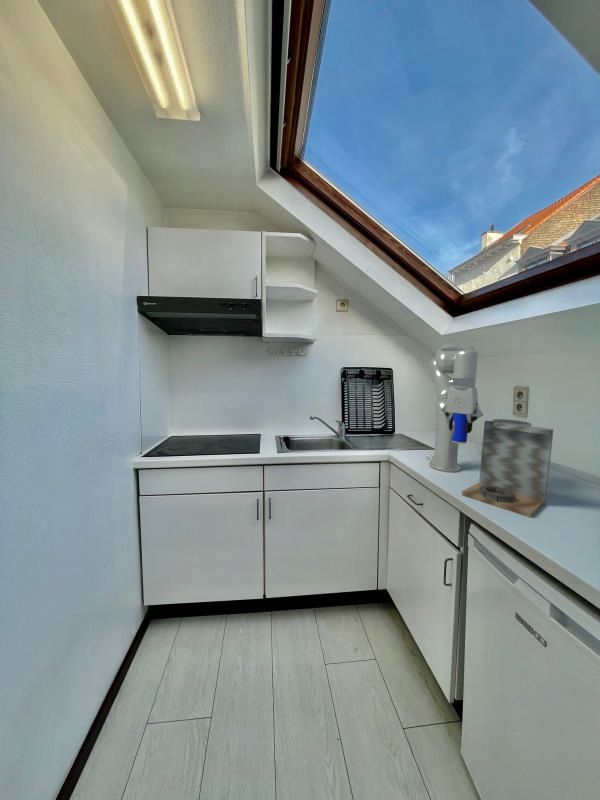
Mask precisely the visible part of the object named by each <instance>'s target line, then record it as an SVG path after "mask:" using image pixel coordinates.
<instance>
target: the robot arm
mask: <svg viewBox="0 0 600 800" xmlns="http://www.w3.org/2000/svg"><path fill="white" fill-rule="evenodd" d="M478 354H479V353H478V352H477V351H476V350H475V349H474V345H473V344H472V343H470V342H469V343H468V342H447V343H444V344H443V345H441V347H440V348H439V349H438V350H437V351H436V353H435V357H433V358H432V359H430V361H429V364H428V372H429V376H430V378H431V381H432V382H433V384H434V386H435V392H436V398H437V402H436V403H435V417H436V418H435V420H436V421H435V423H436V426H435V442H434V450H433V451H434V452H433V455H431V454H426V457H425V459H426V460H429V461H431V462H429V466H430V468H432V469H434V470H437V471H441V472H446V473H447V472H449V473H456V472H460V471H461V466H459V464H458V455H459V454H458V453H459V452H458V451H459V444H458V443H454V442H452V427H453V415H454V413H459V414H464V415H466V416H467V420H468V421H467V423H466V428H465V433H467V434H470V433H471V432H472V431H473V425H474V424H473V423H474V422H476V421H477V420H478V419H479V418H481V417H483V416H484V413H483V411H482V410H481V408H480V405H479V404H480V403H479V395H478V388H477V387H476V379H477V372H478V371H477V370H478V357H479V355H478ZM448 374H451V375H453V376H452V377H451V376H449V375H448Z"/></svg>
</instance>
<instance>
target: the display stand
mask: <svg viewBox="0 0 600 800" xmlns="http://www.w3.org/2000/svg"><path fill="white" fill-rule="evenodd" d="M482 436H483V437H482V447H481V448H482V449H481V457H480V471H479V481H478V482H477V483H476V484H474V485H472V486H470V487H467V488H466V489H464V490H462V491H461V495H462V496H464V497H466V498H470V499H473V500H476V501H479V502H482V503H486V504H488V505H491V506H494V507H497V508H500V509H503V510H507V511H510V512H513V513H516V514H519V515H521V516H525V517H528V518H532V517H533V516H534V515H535V514H536V513H537V512H538V511H540V509H542V508H543V507H544V506H545V505H546V500H547V491H548V482H549V473H550V463H551V457H552V456H551V455H552V445H553V437H554V429H552V428H546V427H537V426H532V425H531V426H524V425H516V424H509V423H501V422H494V421H492V420H484V425H483V435H482Z"/></svg>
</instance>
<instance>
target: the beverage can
mask: <svg viewBox="0 0 600 800" xmlns="http://www.w3.org/2000/svg"><path fill="white" fill-rule="evenodd" d="M467 421H468V420H467V416H466V415H464V414H459V413H454V415H453V427H452V442H454V443H458V445H463V444H467V441H468V433H465V428H466V423H467Z"/></svg>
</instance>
